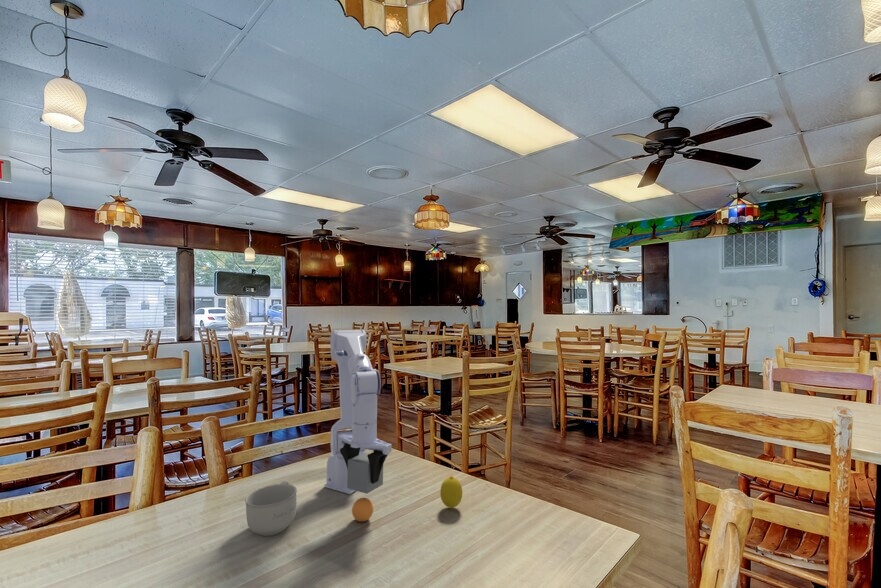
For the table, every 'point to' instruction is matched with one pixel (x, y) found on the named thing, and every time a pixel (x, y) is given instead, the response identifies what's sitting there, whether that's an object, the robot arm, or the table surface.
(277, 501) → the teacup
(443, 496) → the lemon
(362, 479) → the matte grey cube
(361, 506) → the ball
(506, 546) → the table surface
